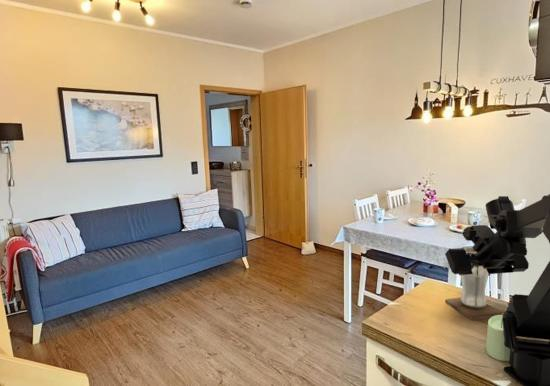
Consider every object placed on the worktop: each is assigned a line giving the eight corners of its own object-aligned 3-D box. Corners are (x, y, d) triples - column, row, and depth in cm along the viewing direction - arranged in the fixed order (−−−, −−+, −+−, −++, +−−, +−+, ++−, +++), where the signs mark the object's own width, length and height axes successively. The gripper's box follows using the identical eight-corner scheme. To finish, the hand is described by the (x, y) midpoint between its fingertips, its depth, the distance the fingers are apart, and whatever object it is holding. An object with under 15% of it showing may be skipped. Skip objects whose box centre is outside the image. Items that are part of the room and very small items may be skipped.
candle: (499, 363, 72) (502, 326, 70) (480, 349, 76) (482, 315, 75) (519, 359, 73) (522, 323, 71) (499, 345, 78) (501, 311, 76)
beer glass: (487, 311, 89) (489, 255, 87) (457, 305, 93) (458, 251, 91) (489, 300, 95) (490, 247, 92) (460, 295, 98) (461, 244, 96)
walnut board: (501, 315, 90) (501, 312, 90) (471, 320, 88) (471, 316, 88) (472, 298, 100) (472, 295, 100) (445, 302, 98) (445, 299, 98)
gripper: (524, 216, 86) (492, 245, 99) (450, 218, 86) (428, 248, 98) (546, 256, 80) (509, 282, 92) (467, 259, 79) (441, 285, 92)
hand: (471, 273), depth 94 cm, fingers closed on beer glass, 6 cm apart
